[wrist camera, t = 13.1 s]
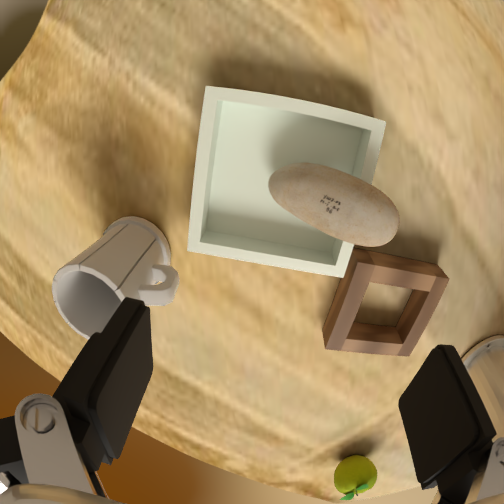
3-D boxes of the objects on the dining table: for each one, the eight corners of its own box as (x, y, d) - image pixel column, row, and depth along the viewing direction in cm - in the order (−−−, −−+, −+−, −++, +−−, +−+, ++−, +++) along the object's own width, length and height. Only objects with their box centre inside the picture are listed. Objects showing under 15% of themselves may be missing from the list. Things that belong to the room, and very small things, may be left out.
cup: (150, 191, 33) (95, 235, 22) (199, 256, 36) (168, 322, 25) (93, 239, 36) (37, 290, 25) (137, 293, 39) (98, 357, 28)
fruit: (324, 463, 56) (326, 501, 48) (350, 446, 53) (355, 487, 44) (354, 468, 58) (358, 503, 49) (381, 451, 54) (388, 488, 45)
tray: (374, 119, 27) (386, 121, 24) (337, 261, 35) (343, 278, 31) (213, 88, 27) (205, 85, 24) (195, 236, 34) (187, 250, 31)
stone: (263, 152, 27) (382, 196, 19) (309, 152, 31) (415, 192, 23) (254, 212, 30) (360, 271, 22) (299, 205, 34) (395, 253, 26)
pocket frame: (437, 264, 34) (449, 279, 31) (401, 339, 39) (409, 356, 36) (350, 247, 34) (357, 262, 31) (322, 330, 39) (325, 349, 36)
